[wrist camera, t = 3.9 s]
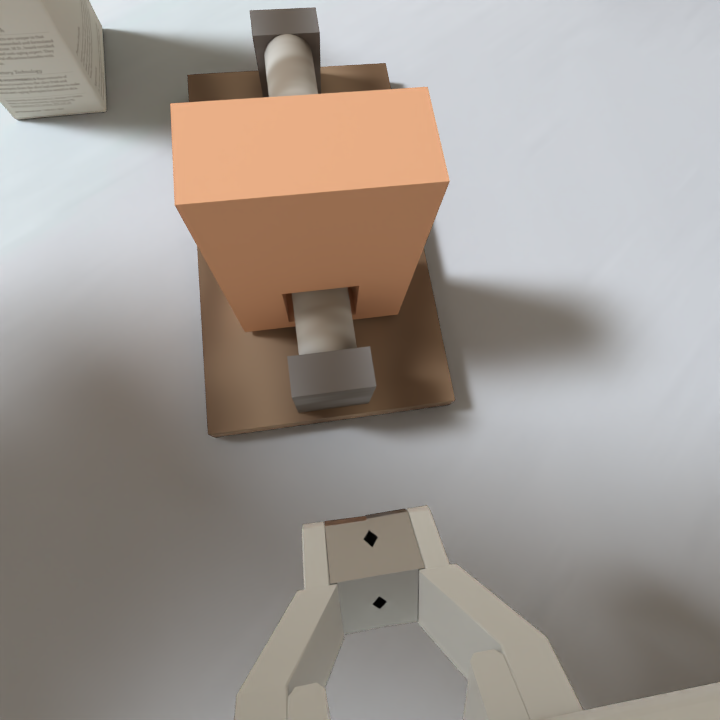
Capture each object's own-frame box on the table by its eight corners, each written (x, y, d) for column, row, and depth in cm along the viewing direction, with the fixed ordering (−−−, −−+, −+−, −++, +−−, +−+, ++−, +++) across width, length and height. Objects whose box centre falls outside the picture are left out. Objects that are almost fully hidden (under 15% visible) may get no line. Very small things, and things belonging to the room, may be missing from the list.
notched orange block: (244, 332, 26) (174, 204, 14) (239, 269, 27) (170, 103, 15) (397, 314, 27) (449, 181, 15) (387, 254, 28) (427, 86, 16)
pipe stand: (214, 437, 26) (181, 423, 20) (193, 93, 32) (164, 8, 27) (448, 404, 27) (480, 382, 22) (383, 81, 34) (393, -2, 28)
